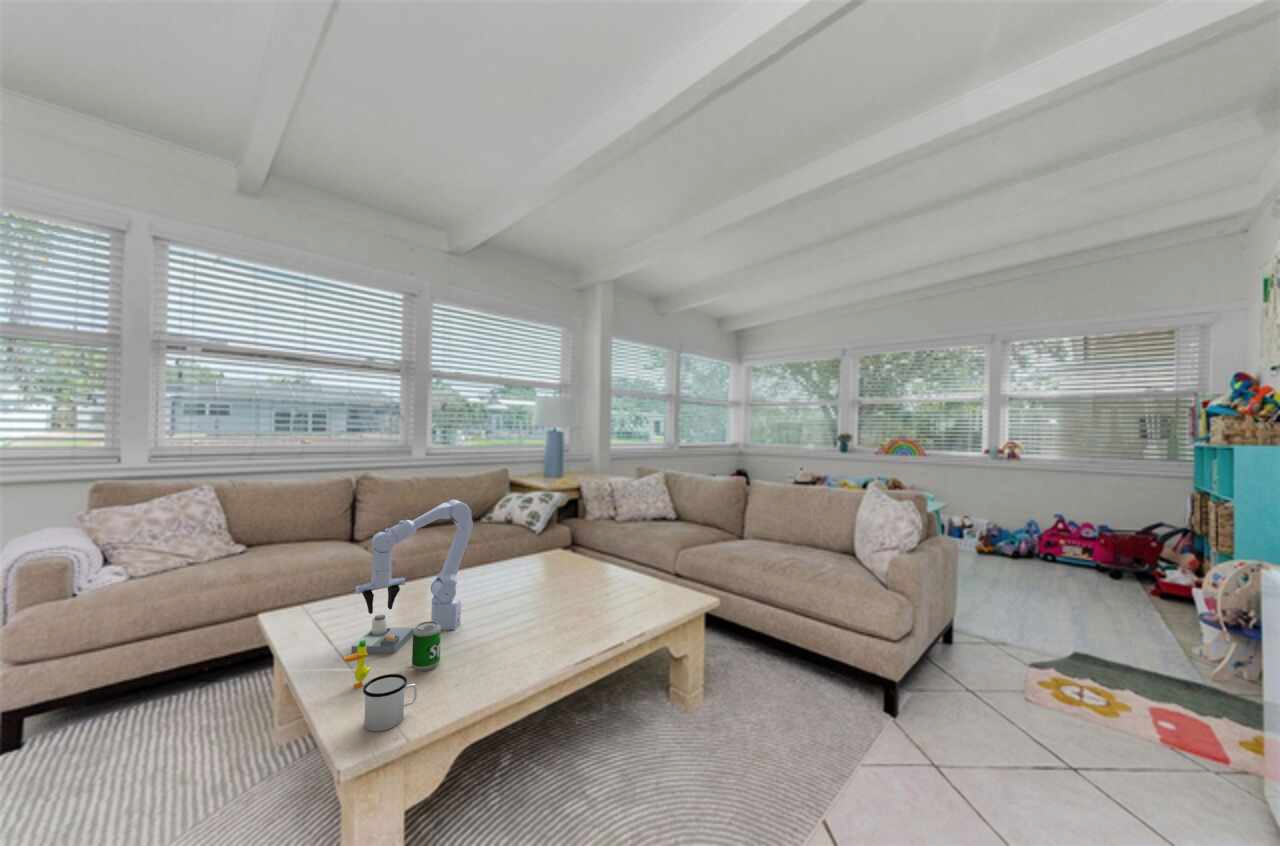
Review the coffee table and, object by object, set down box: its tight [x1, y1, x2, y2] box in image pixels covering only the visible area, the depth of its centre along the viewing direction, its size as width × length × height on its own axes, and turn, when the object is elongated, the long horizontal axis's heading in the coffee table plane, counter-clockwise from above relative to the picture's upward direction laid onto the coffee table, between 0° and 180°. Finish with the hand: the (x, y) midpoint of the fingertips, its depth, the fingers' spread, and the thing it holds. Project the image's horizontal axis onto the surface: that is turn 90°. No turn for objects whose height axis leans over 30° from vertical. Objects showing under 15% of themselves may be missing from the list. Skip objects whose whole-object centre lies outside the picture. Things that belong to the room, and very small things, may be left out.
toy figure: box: [343, 640, 372, 689], centre depth 131 cm, size 7×4×12 cm, turn 132°
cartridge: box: [371, 614, 388, 635], centre depth 159 cm, size 4×4×7 cm
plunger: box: [385, 635, 395, 641], centre depth 151 cm, size 3×3×2 cm
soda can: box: [411, 620, 442, 672], centre depth 142 cm, size 8×8×12 cm
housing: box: [351, 627, 414, 654], centre depth 156 cm, size 13×14×4 cm
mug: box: [362, 673, 418, 732], centre depth 117 cm, size 12×10×9 cm
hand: (380, 610), depth 159 cm, fingers open, 5 cm apart
